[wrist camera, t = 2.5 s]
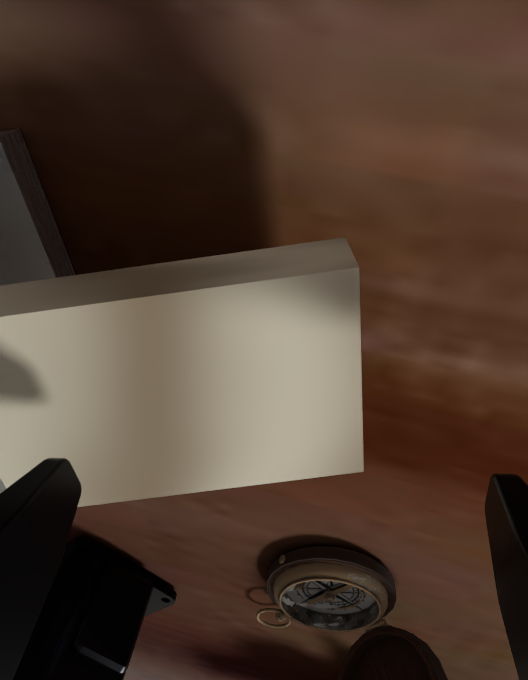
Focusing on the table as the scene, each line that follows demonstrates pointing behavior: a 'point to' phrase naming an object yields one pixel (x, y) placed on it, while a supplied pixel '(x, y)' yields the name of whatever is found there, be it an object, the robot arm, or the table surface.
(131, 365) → the plank
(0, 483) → the steel block
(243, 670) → the table surface
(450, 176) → the table surface
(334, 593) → the compass
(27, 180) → the pivot stand
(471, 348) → the table surface
